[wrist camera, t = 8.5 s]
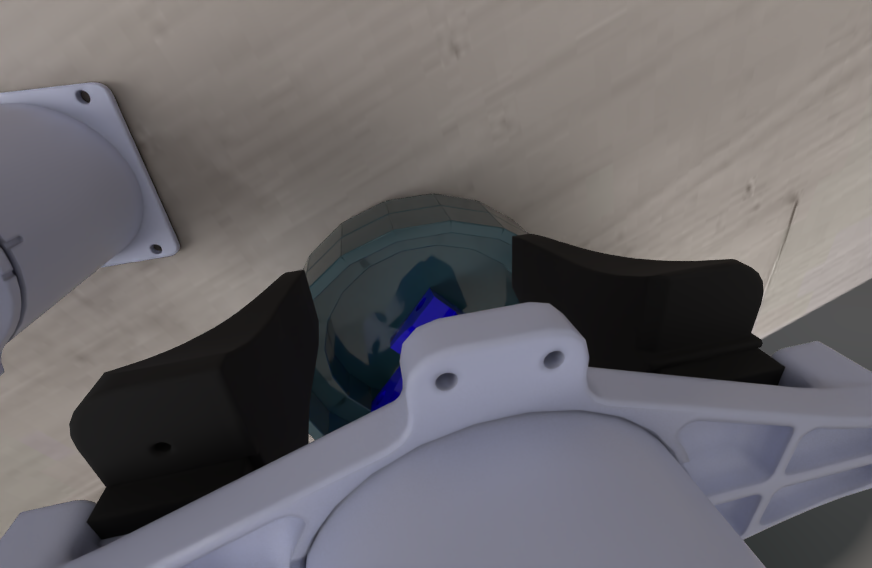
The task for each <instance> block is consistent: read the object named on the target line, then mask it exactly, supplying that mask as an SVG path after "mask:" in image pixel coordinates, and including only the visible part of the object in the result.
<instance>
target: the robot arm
mask: <svg viewBox="0 0 872 568" xmlns="http://www.w3.org/2000/svg"><path fill="white" fill-rule="evenodd" d="M82 91H85V92H87V93H88V94H89V96H90V99H91V100H90V102H89V103H87V102H86V101H84V100H83V99H82V97H81V92H82ZM153 244H157V245H159V246H160V247H161V248H162V251H158V250H156V249H155V248H154V246H153ZM179 249H180V244H179V241H178V239H177V237H176V235H175V232H174V230H173V228H172V226H171V223H170V221H169V219H168V217H167V214H166V212H165V210H164V208H163V205H162V203H161V201H160V199H159V196H158V194H157V192H156V190H155V187H154V185H153V183H152V181H151V178H150V176H149V174H148V172H147V169H146V167H145V165H144V163H143V160H142V158H141V156H140V154H139V151H138V149H137V147H136V145H135V143H134V140H133V138H132V136H131V134H130V131H129V129H128V127H127V125H126V122H125V120H124V118H123V116H122V113H121V111H120V109H119V107H118V104H117V102H116V100H115V98H114V95H113V93H112V92H111V90H110V89H109V88H108V87H107V86H106V85H104V84H102V83H99V82H89V83H80V84H72V85H63V86H54V87H46V88H37V89H28V90H20V91H11V92H2V93H0V376H1V375H2V374H3V373H4V368H3V365H2V362H1V354H2V350H3V348H4V346H5V345H6V344H7V343H8V342H9V341H10V340H12V339H13V338H14V337H15V336H17V335H18V334H19V333H20V332H21V331H23V330H24V329H25V328H26V327H28V326H29V325H30V324H31V323H33V322H34V321H35V320H36V319H38V318H39V317H40V316H41V315H42V314H44V313H45V312H46V311H47V310H49V309H50V308H51V307H52V306H54V305H55V304H56V303H57V302H58V301H60V300H61V299H62V298H63V297H65V296H66V295H67V294H68V293H70V292H71V291H72V290H73V289H75V288H76V287H77V286H78V285H79V284H81V283H82V282H83V281H84V280H86V279H87V278H88V277H89V276H91V275H92V274H93V273H94V272H96V271H97V270H98V269H99V268H101V267H107V266H113V265H120V264H126V263H132V262H138V261H144V260H150V259H156V258H162V257H168V256H173V255H175V254H176V253H177V252H178V251H179ZM512 288H513V290H514V292H515V294H516V296H517V298H518V300H519V302H520V304H516V305H510V306H505V307H499V308H494V309H488V310H483V311H477V312H472V313H466V314H461V315H455V316H450V317H445V318H439V319H436V320H433V321H431V322H429V323H426V324H424V325H421V326H419V327H417V328H416V329H415V330H414V331H413V332H412V333H411V334H410V335H409V337H408V338H407V339H406V340H405V341H404V342H403V344H402V349H401V356H400V367H401V373H402V379H403V389H402V392H401V394H400V395H399V397H398V398H397V399H396V400H395V401H393V402H391V403H389V404H387V405H385V406H383V407H381V408H379V409H377V410H375V411H373V412H371V413H369V414H367V415H365V416H363V417H361V418H359V419H357V420H355V421H353V422H351V423H349V424H347V425H345V426H343V427H341V428H339V429H337V430H335V431H333V432H331V433H329V434H327V435H325V436H323V437H321V438H319V439H317V440H315V441H313V442H311V443H309V444H308V437H309V407H310V397H311V391H312V384H313V378H314V372H315V366H316V360H317V353H318V346H319V320H318V317H317V313H316V309H315V306H314V302H313V299H312V295H311V291H310V288H309V284H308V280H307V277H306V273H305V270H300V271H294V272H287V273H285V274H283V275H282V276H280V277H279V278H278V279H277V280H276V281H275V282H273V283H272V284H271V285H270V286H269V287H268V288H267V289H266V290H264V291H263V292H262V293H261V294H260V295H259V296H258V297H256V298H255V299H254V300H253V301H251V302H250V303H249V304H248V305H246V306H245V307H244V308H243V309H241V310H240V311H239V312H237V313H236V314H235V315H233V316H232V317H230V318H229V319H227V320H226V321H224V322H223V323H221V324H219V325H218V326H216V327H215V328H213V329H211V330H209V331H207V332H206V333H204V334H202V335H200V336H198V337H196V338H194V339H192V340H190V341H188V342H186V343H184V344H182V345H180V346H178V347H175V348H173V349H171V350H168V351H166V352H163V353H161V354H158V355H156V356H153V357H151V358H148V359H145V360H142V361H139V362H136V363H133V364H130V365H127V366H124V367H121V368H118V369H115V370H112V371H108V372H105V373H104V374H103V375H102V376H101V378H100V379H99V380H98V382H97V383H96V384H95V385H94V387H93V388H92V389H91V390H90V392H89V393H88V394H87V396H86V397H85V398H84V399H83V401H82V402H81V403H80V404H79V406H78V407H77V408H76V410H75V411H74V413H73V415H72V418H71V421H70V424H69V425H70V436H71V438H72V440H73V442H74V444H75V446H76V448H77V449H78V451H79V452H80V453H81V455H82V456H83V457H84V458H85V460H86V461H87V462H88V464H89V465H90V466H91V468H92V469H93V470H94V472H95V473H96V474H97V476H98V477H99V478H100V480H101V481H102V482H103V483H104V485H105V486H106V488H105V490H104V492H103V494H102V495H101V497H100V499H99V501H98V502H97V504H96V503H95V502H92V501H88V500H75V501H70V502H66V503H61V504H56V505H52V506H47V507H43V508H38V509H33V510H29V511H25V512H22V513H20V514H19V515H18V517H17V518H16V519H15V521H14V522H13V523H12V525H11V526H10V528H9V529H8V530H7V532H6V533H5V534H4V536H3V537H2V538H1V540H0V568H765V566H764V565H763V564H762V563H761V561H760V560H759V559H758V558H757V557H756V555H755V554H754V553H753V552H752V551H751V549H750V548H749V547H748V546H747V545H746V543H745V542H744V541H743V539H746V538H748V537H750V536H752V535H754V534H756V533H759V532H761V531H763V530H765V529H767V528H769V527H772V526H774V525H776V524H778V523H780V522H782V521H785V520H787V519H789V518H792V517H794V516H796V515H799V514H801V513H803V512H805V511H808V510H810V509H812V508H815V507H817V506H820V505H823V504H825V503H828V502H831V501H833V500H836V499H839V498H842V497H844V496H847V495H851V494H854V493H857V492H860V491H864V490H867V489H870V488H872V372H871V371H869V370H867V369H866V368H864V367H862V366H860V365H859V364H857V363H855V362H853V361H852V360H850V359H848V358H847V357H845V356H843V355H841V354H840V353H838V352H836V351H835V350H833V349H831V348H830V347H828V346H826V345H824V344H822V343H821V342H819V341H815V342H809V343H805V344H800V345H795V346H791V347H786V348H782V349H780V350H777V351H776V352H775V353H774V354H772V355H771V357H770V356H769V355H767V354H766V353H764V352H763V351H761V350H760V349H759V347H761V346H762V340H761V339H759V338H758V337H756V336H755V335H753V334H752V333H751V331H752V328H753V326H754V323H755V320H756V317H757V314H758V311H759V308H760V306H761V302H762V297H763V281H762V279H761V277H760V275H759V273H758V272H756V271H755V270H754V269H753V268H751V267H749V266H747V265H745V264H743V263H741V262H739V261H737V260H734V259H726V260H707V261H659V260H646V259H635V258H627V257H621V256H615V255H609V254H604V253H599V252H595V251H591V250H587V249H583V248H580V247H576V246H573V245H569V244H566V243H563V242H559V241H556V240H553V239H550V238H546V237H543V236H539V235H535V234H523V235H517V236H512Z"/></svg>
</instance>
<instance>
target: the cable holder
mask: <svg viewBox="0 0 872 568" xmlns="http://www.w3.org/2000/svg"><path fill="white" fill-rule="evenodd" d="M461 314H466V313H464V312H463V311H462V310H460V309H459V308H457V307H456V306H455V305H453V304H452V303H450V302H449V301H448V300H446V299H445V298H444V297H442V296H441V295H439V294H438V293H437V292H435V291H434V290H433V289H431V288H430V287H429V289H428V290H427V291H426V292H425V294H424V295H423V296H422V298H421V299H420V300H419V302H418V303H417V304H416V306H415V307H414V308H413V310H412V311H411V312H410V314H409V315H408V316H407V318H406V319H405V320H404V322H403V323H402V324H401V325H400V327H399V328H398V329H397V331H396V332H395V333H394V335H393V336H392V337H391V339H390V348H391V349H393V350H394V351H396V352H397V353H399V354H400V355H401V349H402V344H403V342H404V341H405V340H406V339H407V338H408V337H409V335H410V334H411V333H412V332H413V331H414V330H415V329H416V328H417V327H419V326H421V325H424V324H426V323H429V322H431V321H433V320H436V319H439V318H445V317H450V316H455V315H461ZM402 389H403V379H402V373H401V367H400V366H399V367H398V369H397V370H396V371H395V373H394V374H393V375H392V376H391V378H390V379H389V380H388V382H387V383H386V384H385V386H384V387H383V388H382V390H381V391H380V392H379V393H378V395H377V396H376V397H375V399H374V400H373V401H372V405H371V412H373V411H375V410H377V409H379V408H381V407H383V406H385V405H387V404H389V403H391V402H393V401H395V400H396V399H397V398H398V397H399V395H400V394H401V392H402Z"/></svg>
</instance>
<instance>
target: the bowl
mask: <svg viewBox="0 0 872 568" xmlns="http://www.w3.org/2000/svg"><path fill="white" fill-rule="evenodd" d="M523 234H528V233H527V232H526V231H525V230H524V229H523V228H522V227H520V226H519V225H518V224H517V223H516V222H515V221H514V220H513V219H511V218H509V217H507V216H505V215H503V214H502V213H500V212H498V211H496V210H494V209H492V208H491V207H489V206H487V205H485V204H483V203H481V202H480V201H477V200H472V199H466V198H459V197H453V196H447V195H441V194H426V195H419V196H413V197H407V198H401V199H394V200H388V201H386V202H382V203H380V204H378V205H376V206H374V207H372V208H370V209H368V210H366V211H364V212H362V213H360V214H358V215H356V216H354V217H352V218H350V219H348V220H346V221H344V222H343V223H341V224H340V225H339V226H338V227H337V228H336V229H335V230H334V231H333V232H332V233H331V234H330V235H329V236H328V237H327V238H326V239H325V240H324V241H323V242H322V243H321V244H320V245H319V246H318V247H317V248H316V249H315V250H314V251H313V252H312V253H311V255H310V256H309V258H308V260H307V262H306V264H305V266H304V268H303V270H305V273H306V277H307V280H308V284H309V288H310V291H311V295H312V299H313V302H314V306H315V309H316V313H317V317H318V320H319V346H318V353H317V360H316V366H315V372H314V378H313V384H312V391H311V397H310V407H309V434H310V435H311V436H312V437H313V438H314V440H317V439H319V438H321V437H323V436H325V435H327V434H329V433H331V432H333V431H335V430H337V429H339V428H341V427H343V426H345V425H347V424H349V423H351V422H353V421H355V420H357V419H359V418H361V417H363V416H365V415H367V414H369V413H371V405H372V401H373V400H374V399H375V397H376V396H377V395H378V393H379V392H380V391H381V390H382V388H383V387H384V386H385V384H386V383H387V382H388V380H389V379H390V378H391V376H392V375H393V374H394V373H395V371H396V370H397V369H398V367H399V366H400V356H401V355H400V354H399V353H397V352H396V351H394V350H393V349H391V348H390V339H391V337H392V336H393V335H394V333H395V332H396V331H397V329H398V328H399V327H400V325H401V324H402V323H403V322H404V320H405V319H406V318H407V316H408V315H409V314H410V312H411V311H412V310H413V308H414V307H415V306H416V304H417V303H418V302H419V300H420V299H421V298H422V296H423V295H424V294H425V292H426V291H427V290H428V289H429V287H430V288H431V289H433V290H434V291H435V292H437V293H438V294H439V295H441V296H442V297H444V298H445V299H446V300H448V301H449V302H450V303H452V304H453V305H455V306H456V307H457V308H459V309H460V310H462V311H463V312H464V313H472V312H477V311H483V310H488V309H494V308H499V307H505V306H510V305H516V304H520V302H519V300H518V298H517V296H516V294H515V292H514V290H513V288H512V236H517V235H523Z"/></svg>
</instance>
